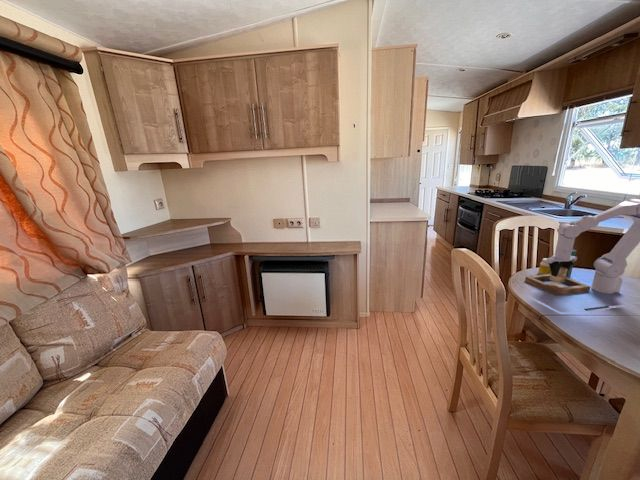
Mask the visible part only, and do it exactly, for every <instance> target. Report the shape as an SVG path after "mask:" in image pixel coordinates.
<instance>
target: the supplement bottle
mask: <svg viewBox="0 0 640 480" xmlns="http://www.w3.org/2000/svg"><path fill="white" fill-rule="evenodd" d="M546 260H547V257H545V258H542V260H541V262H540V264H539V268H538V272H537V273H538V275H544V274H550V273H551V269H550V266H549V264H548V263H547V262H546Z"/></svg>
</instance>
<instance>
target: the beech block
mask: <svg viewBox="0 0 640 480" xmlns="http://www.w3.org/2000/svg"><path fill="white" fill-rule="evenodd" d="M566 273H567V268H564V267H561V268H560V269H559V272H558V275H557V276H556V277H555V276H552V275H551V273H550V278H549V279H548V280H550V281H551V282H556V283H558V284H560V283H565V278H566V277H567V276H566Z"/></svg>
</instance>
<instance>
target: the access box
mask: <svg viewBox="0 0 640 480" xmlns="http://www.w3.org/2000/svg"><path fill="white" fill-rule="evenodd" d="M549 278H550V274H544V275H540V274H537V275H535V274H534V275H527V276H525V279H524V281H525V282H527V283H528V284H530V285H533V286H534V287H537V288H539V289H541V290H544V291H545V292H547V293H550V294H553V295H555V296H562V295H569V294H578V293H586V292H590V289H591V286H592V285H591V286H590V285H587V284H585V283H583V282H580V281H577V280H575V279H573V278H569V277H568V276H566V278H565V282H564V283H565V284H568V285H570V286H565V285H563V284H560V283H556V282H554V281H551V282H544V281H545V280H547V281H548V280H549Z"/></svg>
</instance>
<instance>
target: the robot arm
mask: <svg viewBox="0 0 640 480" xmlns="http://www.w3.org/2000/svg"><path fill="white" fill-rule="evenodd" d="M622 215H625V216H626V215H627V216H628V215H629V216H630V217H631V218H632V221H633V223H632V225H631V226H630V227H629V228H628V229H627V231H626V232H624V234H623V236H622V237H621V238H620V239H619V240H618V242H617V243H616V244H615V245H614V247H613V248H612V249H611V250H610V252H608V253H605V254H602V255H601V257H598V258H597V259H596V260H595V261H594V263H593V267H594V268H595V273H594V276H593V280H592V282H591V283H592V284H591V287H590V289H592V290H593V291H595V292H597V293H602V294H608V295H609V294H614V293H619V294H621V292H620V290H621V287H622V285H623V278H622V275H624V273H625V272H626V271H625V270H626V268H627V266H628V262H627V258H628V257H629V256H630V255H631V254H632V252H633V251H634V250H635V249H636V247H637V246H638V245H639V244H640V199H639V198H629V199H627V200H624V201H622V202H620V203H619V204H617V205H616V206H613V207H611V208H609V209H607V210H604V211H602V212H600V213H598V214H596V215H583V216H581V218H579V219H577V220H573V221H570V222H569V223H562V224H561V225H559V227H558V228H556V231H557V233H558V238H557V243H556V247H555V251H554V254H553V255H552V256H551V257H548V258H547V257H546V258H547V260H546V262H547V263H548V264H549V266H550V269H551V275H552V276H555V277H556V276H557V275H558V272H559V269H560V268H561V267H564V268H567V271H568V270H569V269H570V268H571V267H572V266H573V267H574V265H575V261H577V260H578V256H571V253H572V249H574V244H575V240H576V238H577V237H578V236H580V234H581V233H584V232H586V231H589V230H591V229H594V228H596V227H598V226H599V224H600V223H601V222H605V221H607V220H610V219H614V218H616V217H619V216H622ZM571 261H574V262H571ZM559 262H560V264H559Z"/></svg>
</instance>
